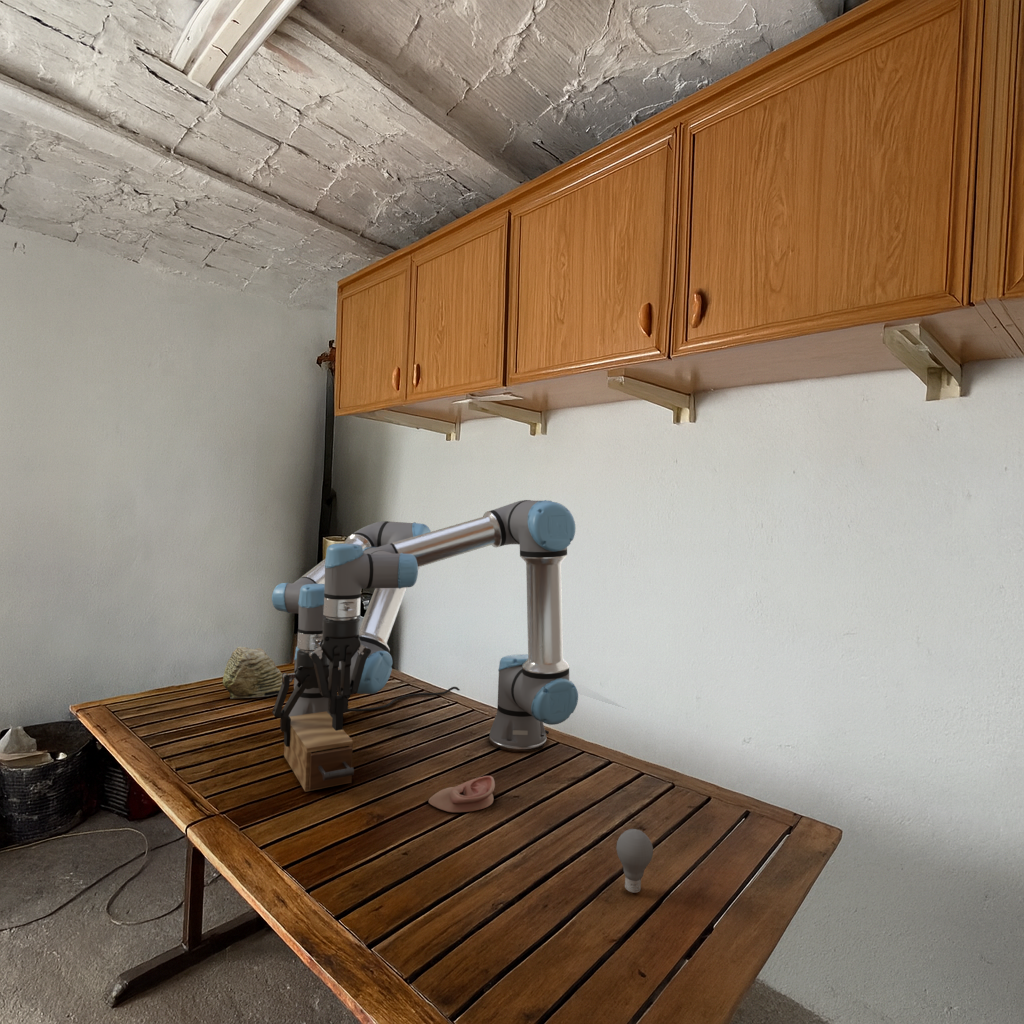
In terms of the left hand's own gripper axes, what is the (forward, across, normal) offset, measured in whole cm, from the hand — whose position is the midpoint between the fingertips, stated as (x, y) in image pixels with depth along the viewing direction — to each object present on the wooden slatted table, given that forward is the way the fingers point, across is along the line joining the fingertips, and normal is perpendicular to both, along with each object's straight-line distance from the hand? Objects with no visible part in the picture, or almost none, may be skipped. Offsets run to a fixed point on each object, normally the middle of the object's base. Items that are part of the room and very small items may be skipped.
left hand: (310, 740), depth 152 cm
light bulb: (+4, +34, -76) cm, 84 cm away
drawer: (+3, 0, -11) cm, 12 cm away
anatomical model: (+4, +23, -35) cm, 42 cm away
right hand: (-10, 0, -21) cm, 24 cm away
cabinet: (+4, 0, -6) cm, 8 cm away
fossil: (+4, -3, +56) cm, 56 cm away
